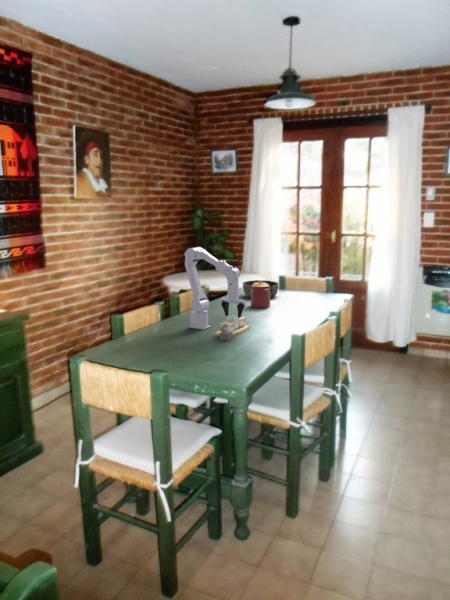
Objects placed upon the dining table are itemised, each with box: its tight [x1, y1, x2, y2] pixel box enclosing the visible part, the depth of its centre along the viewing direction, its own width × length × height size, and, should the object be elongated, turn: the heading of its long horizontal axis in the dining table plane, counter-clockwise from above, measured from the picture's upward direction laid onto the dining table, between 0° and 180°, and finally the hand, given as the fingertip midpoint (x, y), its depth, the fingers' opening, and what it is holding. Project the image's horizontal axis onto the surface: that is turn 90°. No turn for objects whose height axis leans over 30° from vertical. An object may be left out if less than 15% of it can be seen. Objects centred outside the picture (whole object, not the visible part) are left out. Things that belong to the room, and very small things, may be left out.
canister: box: [250, 279, 271, 309], centre depth 320 cm, size 13×13×18 cm
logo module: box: [226, 314, 239, 329], centre depth 261 cm, size 4×5×6 cm
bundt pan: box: [242, 279, 280, 299], centre depth 354 cm, size 26×26×10 cm
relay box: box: [219, 331, 234, 342], centre depth 248 cm, size 5×4×4 cm
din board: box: [215, 315, 251, 338], centre depth 261 cm, size 10×20×6 cm, turn 151°
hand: (233, 316), depth 260 cm, fingers open, 7 cm apart
